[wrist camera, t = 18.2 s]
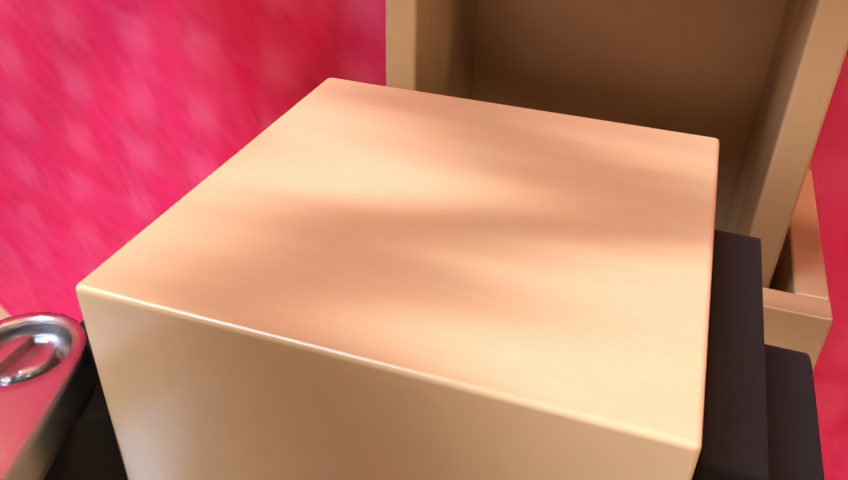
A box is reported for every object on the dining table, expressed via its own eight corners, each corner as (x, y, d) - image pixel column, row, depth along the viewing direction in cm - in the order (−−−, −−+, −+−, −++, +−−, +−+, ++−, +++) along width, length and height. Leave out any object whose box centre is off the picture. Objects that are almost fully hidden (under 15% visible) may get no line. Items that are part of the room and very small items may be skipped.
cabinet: (429, 96, 28) (325, 213, 21) (810, 156, 24) (834, 320, 18) (420, 395, 36) (343, 550, 29) (706, 471, 32) (695, 667, 26)
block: (721, 136, 9) (702, 447, 5) (643, 436, 12) (593, 790, 8) (328, 75, 10) (70, 285, 6) (340, 358, 13) (166, 628, 9)
